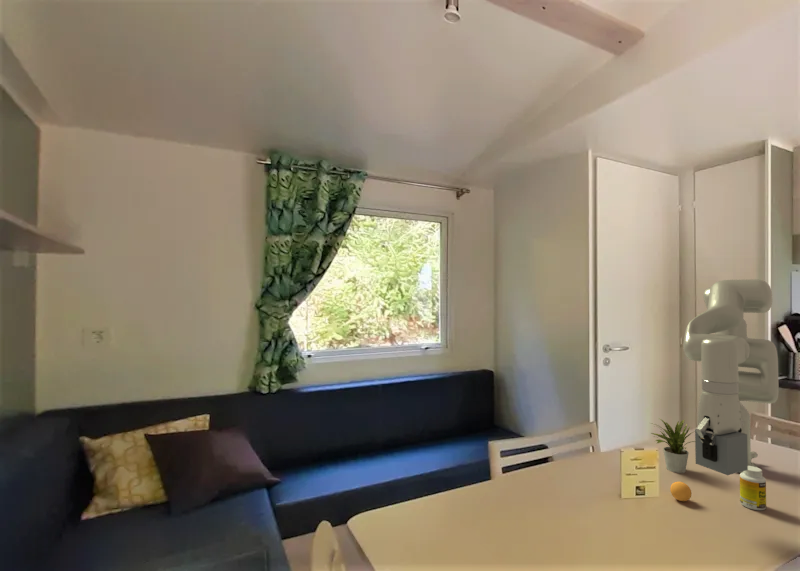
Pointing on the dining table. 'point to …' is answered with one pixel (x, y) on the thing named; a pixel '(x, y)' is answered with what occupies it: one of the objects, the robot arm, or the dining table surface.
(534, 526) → the dining table surface
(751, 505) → the supplement bottle
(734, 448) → the grey rectangular block
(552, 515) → the dining table surface
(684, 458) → the house plant
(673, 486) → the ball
